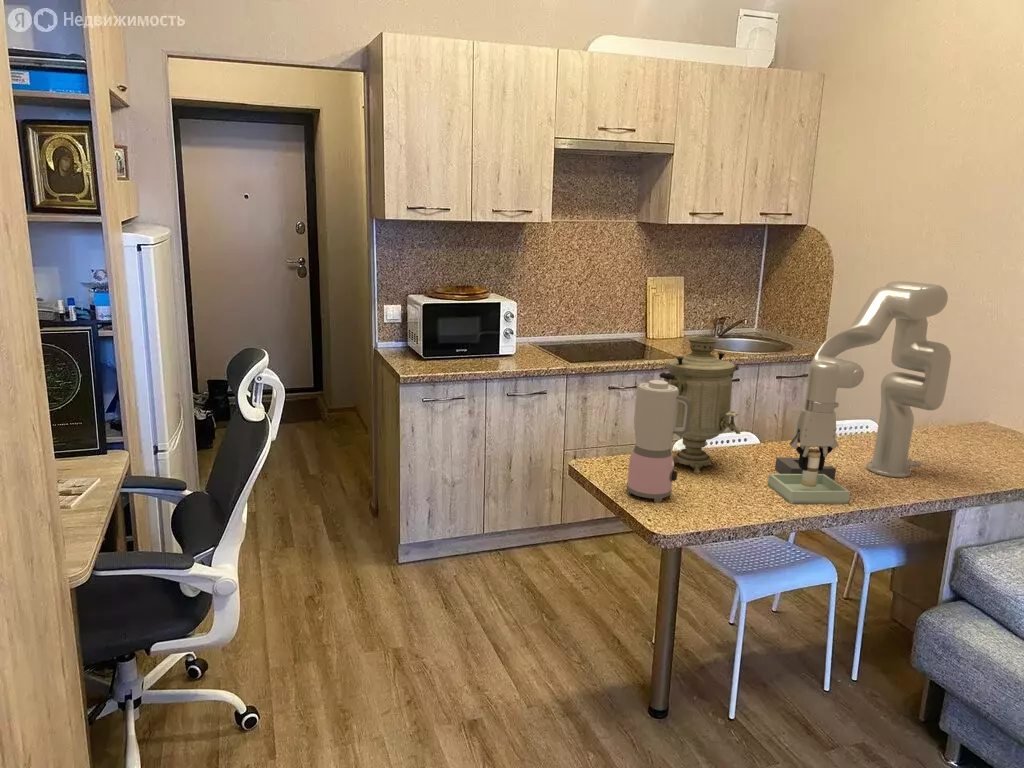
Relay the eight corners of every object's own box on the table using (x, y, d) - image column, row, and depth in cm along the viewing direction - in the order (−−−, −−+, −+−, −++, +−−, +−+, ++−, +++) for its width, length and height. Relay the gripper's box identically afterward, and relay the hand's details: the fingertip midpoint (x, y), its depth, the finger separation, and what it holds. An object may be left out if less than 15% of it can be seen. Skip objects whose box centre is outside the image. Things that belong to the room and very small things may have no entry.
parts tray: (822, 485, 217) (824, 474, 216) (848, 503, 203) (850, 491, 202) (767, 485, 215) (769, 473, 214) (790, 503, 201) (791, 491, 200)
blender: (619, 496, 202) (628, 382, 194) (634, 482, 212) (643, 374, 205) (675, 509, 194) (686, 391, 187) (688, 494, 205) (699, 383, 197)
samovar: (680, 488, 209) (693, 350, 200) (632, 459, 233) (642, 334, 224) (763, 478, 220) (780, 347, 211) (709, 451, 244) (722, 332, 235)
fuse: (811, 481, 211) (816, 448, 208) (818, 487, 207) (823, 453, 204) (798, 481, 210) (802, 448, 208) (805, 487, 206) (809, 453, 204)
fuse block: (817, 469, 230) (819, 457, 229) (834, 481, 220) (836, 467, 220) (774, 469, 229) (776, 456, 228) (789, 481, 219) (791, 467, 218)
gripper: (840, 403, 208) (831, 464, 212) (784, 402, 206) (776, 464, 210) (855, 410, 200) (845, 473, 205) (797, 409, 198) (788, 473, 203)
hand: (810, 468), depth 207 cm, fingers closed on fuse, 4 cm apart
